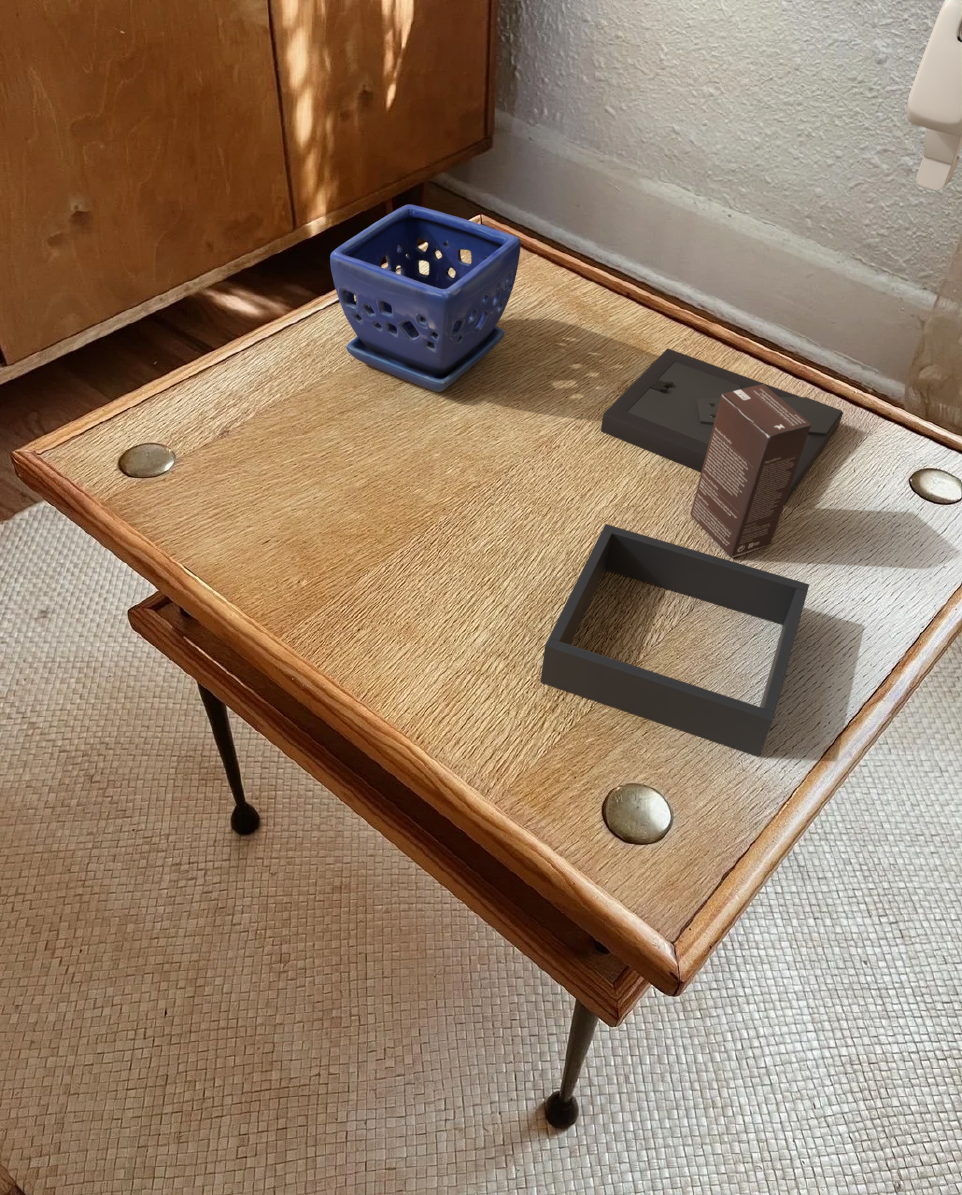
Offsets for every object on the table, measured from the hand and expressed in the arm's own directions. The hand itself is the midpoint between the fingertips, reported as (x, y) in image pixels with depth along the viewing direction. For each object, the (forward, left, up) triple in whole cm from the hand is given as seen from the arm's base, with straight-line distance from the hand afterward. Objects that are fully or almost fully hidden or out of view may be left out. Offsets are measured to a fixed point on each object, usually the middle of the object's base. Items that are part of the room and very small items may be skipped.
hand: (957, 161), depth 66 cm
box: (+7, +7, -29) cm, 31 cm away
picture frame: (+11, -6, -29) cm, 32 cm away
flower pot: (+40, -5, -29) cm, 50 cm away
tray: (+8, +22, -29) cm, 37 cm away
